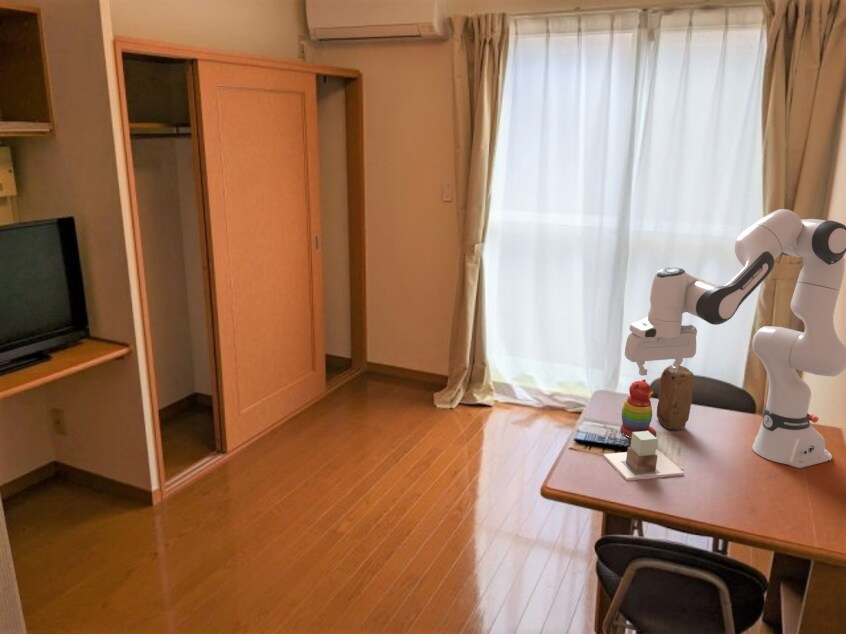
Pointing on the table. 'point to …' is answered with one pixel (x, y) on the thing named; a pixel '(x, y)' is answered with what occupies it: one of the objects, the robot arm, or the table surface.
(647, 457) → the walnut cube
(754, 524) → the table surface
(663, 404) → the block
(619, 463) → the white flat board
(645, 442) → the sage cube
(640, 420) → the stacking bear
